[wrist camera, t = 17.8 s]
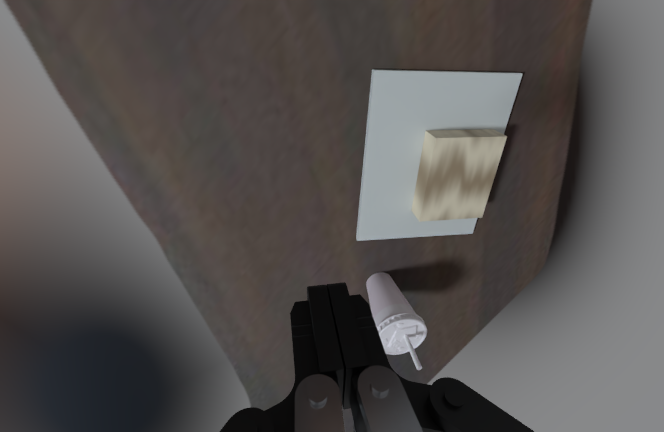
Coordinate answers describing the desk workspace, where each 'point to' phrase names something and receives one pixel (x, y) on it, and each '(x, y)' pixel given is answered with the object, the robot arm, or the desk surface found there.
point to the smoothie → (394, 317)
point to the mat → (421, 140)
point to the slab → (456, 173)
